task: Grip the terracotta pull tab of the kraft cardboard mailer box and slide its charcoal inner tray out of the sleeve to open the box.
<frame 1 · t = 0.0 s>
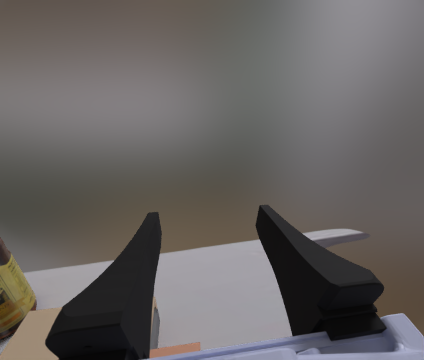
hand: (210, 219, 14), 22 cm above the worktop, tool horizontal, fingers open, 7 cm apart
sauce bottle: (14, 318, 28), on the worktop
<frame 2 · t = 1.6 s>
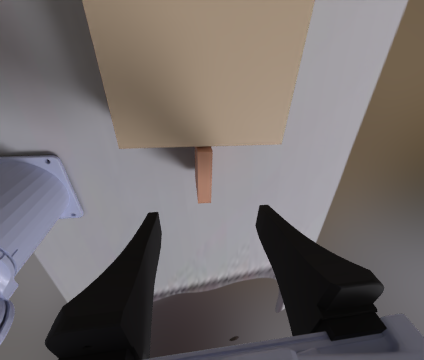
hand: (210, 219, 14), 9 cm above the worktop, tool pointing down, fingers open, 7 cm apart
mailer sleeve: (198, 35, 16), on the worktop
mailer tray: (202, 78, 15), point 3 cm above the worktop, slide at 0.0 cm
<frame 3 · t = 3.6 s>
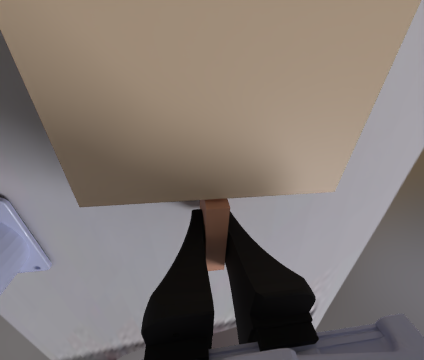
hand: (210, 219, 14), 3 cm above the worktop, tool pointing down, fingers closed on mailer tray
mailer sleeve: (208, 23, 10), on the worktop
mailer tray: (215, 92, 9), point 3 cm above the worktop, slide at 0.0 cm, touching gripper
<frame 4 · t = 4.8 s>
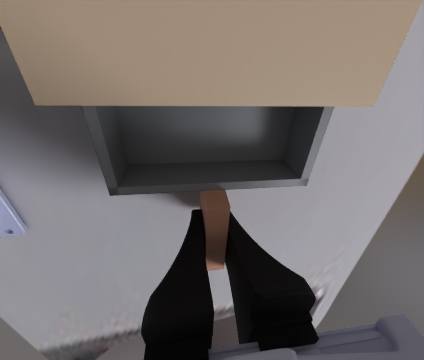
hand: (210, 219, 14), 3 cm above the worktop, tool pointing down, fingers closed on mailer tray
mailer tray: (216, 91, 9), point 3 cm above the worktop, slide at 4.5 cm, touching gripper
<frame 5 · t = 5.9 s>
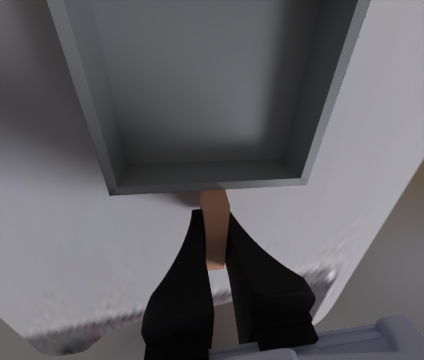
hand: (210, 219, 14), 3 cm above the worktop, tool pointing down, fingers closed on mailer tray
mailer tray: (215, 90, 9), point 3 cm above the worktop, slide at 8.9 cm, touching gripper
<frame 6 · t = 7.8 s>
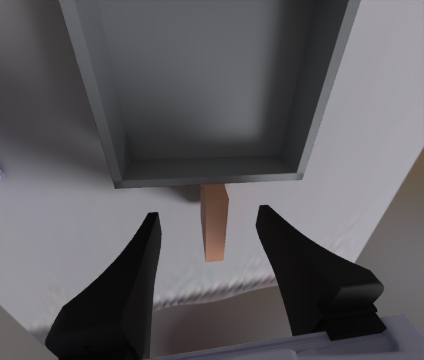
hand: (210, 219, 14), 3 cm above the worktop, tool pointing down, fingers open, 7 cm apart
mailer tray: (215, 89, 9), point 3 cm above the worktop, slide at 8.9 cm
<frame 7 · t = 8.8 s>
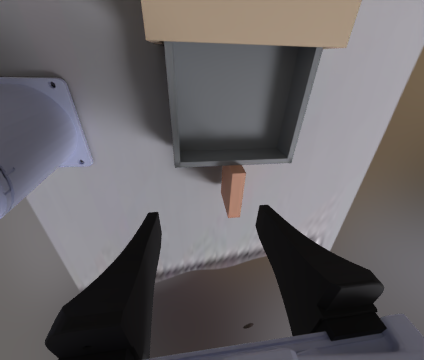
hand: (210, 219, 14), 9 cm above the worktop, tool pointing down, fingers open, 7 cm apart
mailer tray: (238, 107, 16), point 3 cm above the worktop, slide at 8.9 cm
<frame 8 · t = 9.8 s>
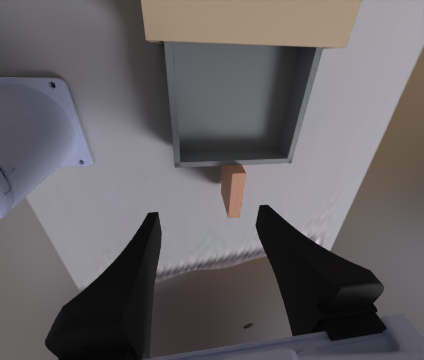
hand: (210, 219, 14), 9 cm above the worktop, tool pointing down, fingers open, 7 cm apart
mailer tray: (238, 107, 16), point 3 cm above the worktop, slide at 8.9 cm
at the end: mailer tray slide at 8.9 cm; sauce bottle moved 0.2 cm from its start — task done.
